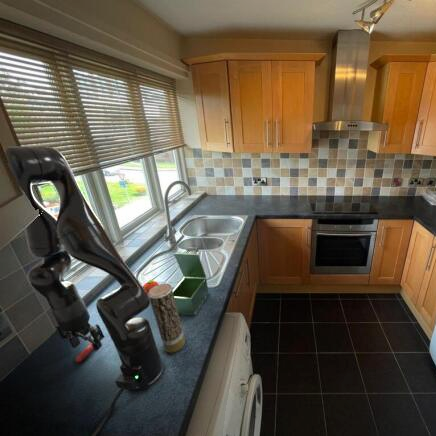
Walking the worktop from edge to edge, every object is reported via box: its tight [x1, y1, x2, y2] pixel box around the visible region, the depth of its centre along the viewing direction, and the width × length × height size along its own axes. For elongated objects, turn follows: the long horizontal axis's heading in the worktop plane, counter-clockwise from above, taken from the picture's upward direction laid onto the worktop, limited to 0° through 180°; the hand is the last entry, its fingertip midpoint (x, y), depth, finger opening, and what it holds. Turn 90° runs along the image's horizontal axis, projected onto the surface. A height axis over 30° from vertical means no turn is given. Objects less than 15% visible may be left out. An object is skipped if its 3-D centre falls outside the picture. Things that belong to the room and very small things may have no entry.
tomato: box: [142, 279, 159, 295], centre depth 110 cm, size 8×7×7 cm
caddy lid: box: [173, 246, 207, 279], centre depth 106 cm, size 14×11×6 cm
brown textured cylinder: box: [148, 283, 186, 354], centre depth 81 cm, size 7×7×25 cm
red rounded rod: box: [75, 342, 94, 363], centre depth 83 cm, size 8×2×2 cm, turn 174°
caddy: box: [172, 276, 210, 317], centre depth 104 cm, size 14×11×9 cm
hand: (87, 347), depth 83 cm, fingers open, 8 cm apart
